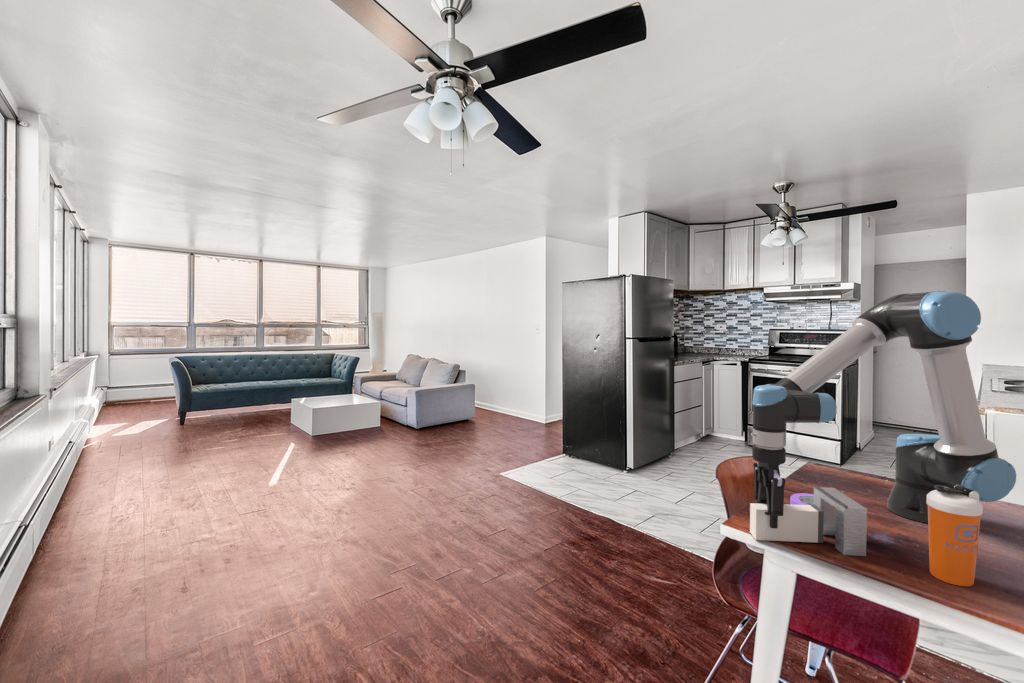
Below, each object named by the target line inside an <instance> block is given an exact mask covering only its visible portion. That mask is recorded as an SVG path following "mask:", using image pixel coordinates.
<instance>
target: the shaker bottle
mask: <svg viewBox="0 0 1024 683" xmlns="http://www.w3.org/2000/svg"><path fill="white" fill-rule="evenodd" d="M934 488H935V489H936V490H933V491H931V492H930V493H928V494H927V499H926V504H927V505H928V523H927V530H928V558H929V560H928V561H929V573H930V574H931V576H933V577H934V578H935V579H937V580H938V581H939V580H940V581H942V582H944V583H947V584H950V585H953V586H958V587H959V586H960V587H971V586H973V585H974V584H975V577H976V569H977V568H976V567H977V557H978V546H979V540H980V539H979V538H980V529H981V518H982V516H983V513H984V512H983V510H984V509H983V508H984V505H983V504H982V503H981V501H979V494H978V493H977V492H976V491H973V490H971V489H968V488H966V487H963V486H961V485H956V486H954V487H950V486H942V485H935V486H934Z"/></svg>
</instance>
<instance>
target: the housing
mask: <svg viewBox="0 0 1024 683" xmlns="http://www.w3.org/2000/svg"><path fill="white" fill-rule="evenodd" d="M812 487H813V494H814V503H813V505H816V506H817V507H818V508H820V509H821V510H822V511H824V518H823V536H835V538H834V539H835V540H834V541H835V544H834V546H835V547H834V548H835V549H836V550H837V551H838V552H839V553H841V554H842V555H843V556H854V557H855V556H856V557H857V556H860V557H866V556H867V535H868V532H867V529H868V508H867V507H865V506H863V505H861V504H860V503H858V502H857V501H855V500H854V499H853V498H851V497H849V496H847V495H846V494H844V493H843V492H841V491H840V490H838V489H836V488H835V487H825V486H824V487H821V486H818V485H817V484H813V486H812Z"/></svg>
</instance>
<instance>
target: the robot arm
mask: <svg viewBox="0 0 1024 683" xmlns="http://www.w3.org/2000/svg"><path fill="white" fill-rule="evenodd" d="M981 322H982V315H981V310H980V308H979V307H978V305H977V303H976V301H974V300H973V299H972V297H970V296H967V295H965V294H964V293H961V292H958V291H945V290H943V291H940V290H937V291H926V292H916V293H901V294H896V295H893V296H890V297H888V298H886V299H883V300H882V301H880V302H878V303H876V304H875V305H873V306H871V307H870V308H868V309H867V310H866V311H864V312H863V313H862V314H860V315H859V316H858V317H856V318H855V319H854V320H853V321H852V322H851V327H849V328H848V329H846V330H845V331H843V332H842V334H840V335H839V336H837V337H836V338H835V339H833V340H832V341H831V342H829V343H828V344H827V345H825V346H824V347H822V348H821V349H820V350H819V351H818V352H817V353H815V354H814V355H813V356H811V357H809V358H808V359H807V360H806V361H804V362H803V363H802V364H800V365H799V366H798V367H797V368H795V369H794V370H792V371H791V372H789V373H788V374H787V375H786V376H784V377H783V378H782V379H780V380H779V381H778V382H776V383H767V384H763V385H762V384H761V385H757V386H755V387H754V388H753V393H752V394H753V395H752V402H751V403H752V432H751V433H750V436H751V437H752V446H751V447H752V448H751V449H752V450H751V452H752V456H751V457H752V460H754V461H755V462H753V463H752V464H753V465H752V466H753V471H754V472H753V473H754V476H753V477H754V479H753V480H754V481H753V482H754V484H753V488H754V489H753V490H754V492H753V494H754V500H756V503H759V504H767V510H768V512H765V515H766V536H765V538H766V539H768V540H778V516H783V506H784V503H785V486H786V485H785V484H786V479H785V478H784V477H781V473H780V466H781V465H783V464H785V463H786V459H787V458H786V457H787V454H786V453H787V451H786V450H787V449H786V446H787V424H807V423H808V424H809V423H810V424H812V423H813V424H815V423H816V424H820V423H829V422H832V421H834V420H835V418H836V415H837V409H838V406H837V402H836V401H835V399H834V397H833V396H832V395H830V394H829V393H826V392H815V391H817V389H819V388H820V387H822V386H824V384H826V383H827V382H828V381H830V380H831V379H833V377H836V375H838V374H839V373H841V372H842V371H843V370H844V369H845V368H848V367H849V366H850V365H851V364H853V362H855V361H857V360H858V359H859V358H861V356H863V355H864V354H866V353H868V351H870V350H871V349H873V348H874V347H875V346H877V347H881V346H883V345H885V344H886V343H887V342H889V341H891V340H893V339H896V338H900V337H901V338H902V337H906V338H908V342H909V344H910V349H911V350H913V351H915V352H918V353H919V355H920V359H921V364H922V368H923V372H924V373H923V374H924V376H925V381H926V385H927V389H928V394H929V398H930V402H931V406H932V410H933V415H934V419H935V424H936V428H937V429H936V430H937V432H938V434H932V433H931V434H930V433H929V434H927V433H903V434H899V435H898V436H897V438H896V443H895V444H896V445H895V448H894V449H895V480H894V481H895V482H894V483H893V487H892V489H891V491H890V492H889V496H888V497H887V500H886V502H887V503H886V507H887V510H889V511H890V512H892V513H893V514H896V515H898V516H900V517H902V518H906V519H909V520H912V521H917V522H920V523H926V524H928V505H927V504H926V499H927V494H928V493H930V492H931V491H933V490H936V489H935V488H934V486H935V485H942V486H950V487H954V486H956V485H961V486H963V487H966V488H968V489H971V490H973V491H976V492H977V493H978V494H979V501H980V502H983V503H993V502H997V501H998V502H999V501H1000V500H1002V499H1004V498H1005V497H1007V496H1008V495H1009V494H1010V492H1011V491H1012V490H1013V489H1014V487H1015V485H1016V482H1017V471H1016V468H1015V466H1014V465H1012V463H1010V462H1009V461H1008V460H1006V459H1004V458H1000V457H999V453H998V449H997V445H996V444H995V443H994V442H993V441H992V440H990V439H987V438H986V434H985V430H984V426H983V420H982V417H981V416H982V415H981V412H980V407H979V403H978V398H977V394H976V391H975V385H974V380H973V376H972V372H971V367H970V363H969V359H968V355H967V349H966V348H967V347H968V346H969V345H970V344H971V343H972V342H973V339H972V336H973V335H974V334H975V333H976V332H977V331H978V329H979V327H978V326H980V325H981ZM768 540H767V541H768Z"/></svg>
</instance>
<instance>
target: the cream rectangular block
mask: <svg viewBox="0 0 1024 683" xmlns="http://www.w3.org/2000/svg"><path fill="white" fill-rule="evenodd" d="M765 512H768V510H767V504H759V503H757V502H755V503H754V502H753V503H750V502H749V534H750V533H751V534H752V535H751V534H750V535H751V536H752V537H753V539H754V540H755V541H767V542H768V541H771V542H777V541H778V542H801V543H818V544H819V543H820V544H823V543H824V535H823V518H824V511H822V510H821V509H820V508H818V507H817V506H816V505H790V504H786V503H785V504H784V506H783V516H778V540H768V539H766V538H765V536H766V515H765Z"/></svg>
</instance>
